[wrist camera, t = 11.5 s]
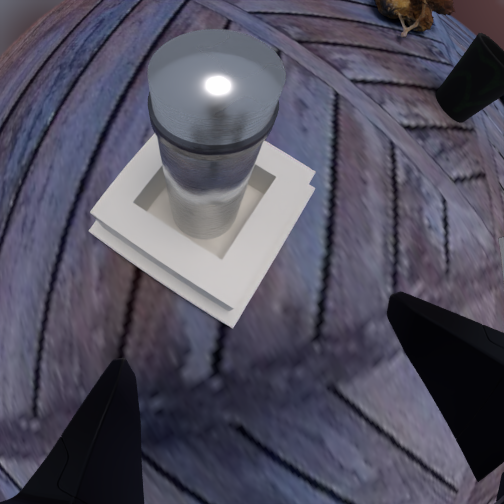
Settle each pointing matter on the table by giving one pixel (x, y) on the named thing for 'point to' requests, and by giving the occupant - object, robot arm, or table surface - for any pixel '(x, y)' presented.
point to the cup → (473, 80)
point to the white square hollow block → (203, 250)
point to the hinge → (502, 252)
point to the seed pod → (414, 12)
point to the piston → (211, 122)
